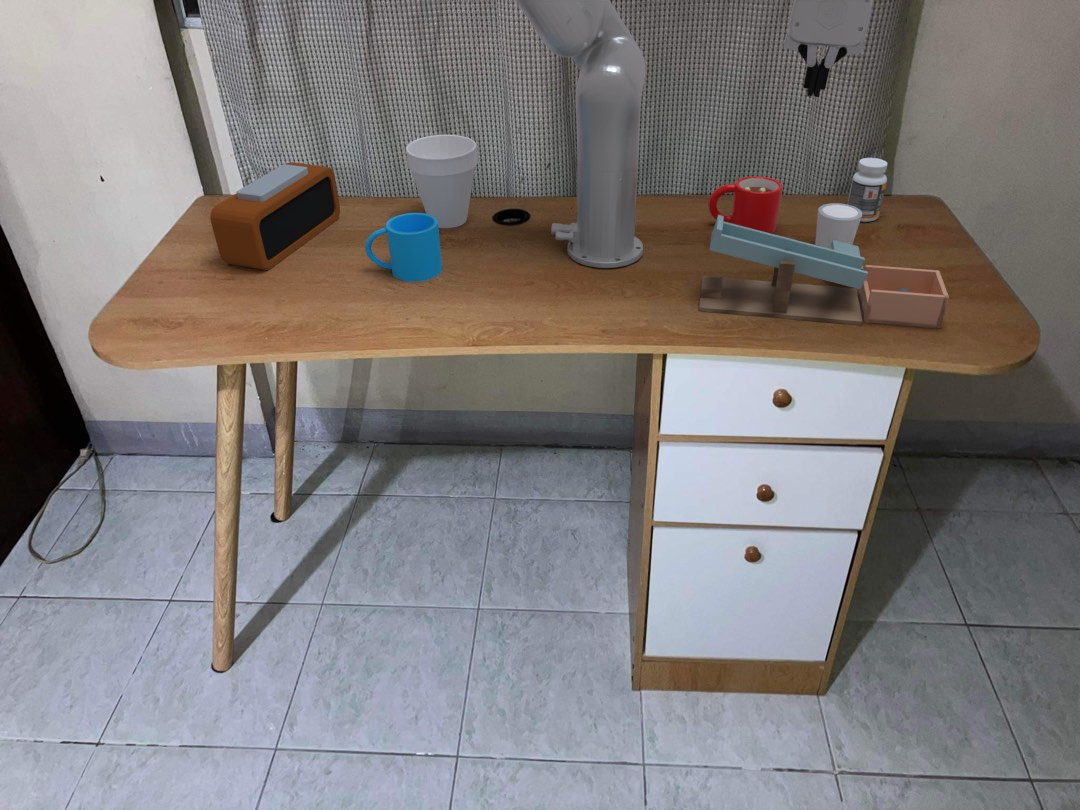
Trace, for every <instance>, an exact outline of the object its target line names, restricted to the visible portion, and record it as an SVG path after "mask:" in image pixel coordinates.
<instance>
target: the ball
mask: <svg viewBox="0 0 1080 810" xmlns="http://www.w3.org/2000/svg"><path fill="white" fill-rule="evenodd" d="M896 291H897V292H910V293H912V292H911V291H910V290H908V289H905V288H901V289H898V290H896Z"/></svg>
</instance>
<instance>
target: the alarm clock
mask: <svg viewBox="0 0 1080 810" xmlns="http://www.w3.org/2000/svg"><path fill="white" fill-rule="evenodd" d="M340 206H341V205H340V199H339V195H338V189H337V182H336V177H335V173H334V170H333V169H332V168H331V167H330V166H324V165H319V164H318V165H317V164H308V163H301V162H293V161H290V162H287V163H285V164H281V165H280V166H277V167H275V168H274V169H272V170H271V171H269V172H267V173H266V174H264V175H262V176H260V177H259V178H257V179H255V180H254V181H252V182H251V183H249V184H247V185H245V186H244V187H241V188H240V189H239V190H237V191H236V192H235V193H234V194H233V195H231V196H230V197H228V198H226V199H224V200H223V201H221V202H219V203H218V204H216V205H215V206H213V208H211V209H212V210H211V212H210V223H211V227H212V231H213V235H214V239H215V243H216V247H217V249H218V252H219V257H220V258H221V261H223V262H224V263H225V264H229V265H233V266H239V267H246V268H252V269H255V270H256V269H257V270H263V271H270V270H272V269H273V268H275V267H276V266H277V265H279V264H280V263H281V262H283V261H284V260H285V259H286V258H288V257H290V256H291V255H292V254H293V253H295V252H296V251H297V250H299V249H300V248H301V247H303V246H305V245H306V244H307V243H308V242H310V241H311V240H312V239H313V238H315V237H316V236H318V235H319V234H320V233H322V232H323V231H324V230H326V229H327V228H328V227H330V226H331V225H333V224H334V223H335V222H337V221H338V219H339V217H340V213H341V207H340Z"/></svg>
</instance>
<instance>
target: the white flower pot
mask: <svg viewBox="0 0 1080 810" xmlns="http://www.w3.org/2000/svg"><path fill="white" fill-rule="evenodd" d="M477 146H478V145H477V143H476V142H475V140H473V139H472V138H470V137H467V136H465V135H464V136H463V135H457V134H435V135H428V136H423V137H419V138H418V139H415V140H412V141H410V142H409V143H408V144H407V145H406V148H405V152H406V165H407V166H406V167H407V168H408V169H409V170H410V172H411V175H412V177H413V181H414V183H415V185H416V188H417V191H418V194H419V198H420V201H421V202H422V205H423V209H424V211H425V214H429V215H432V216H434V217H435V218H436V219H437V221H438V229H453V228H457V227H460V226H463V225H464V224H465V223H466V222H467V220H468V213H469V206H470V201H471V196H472V188H473V183H474V176H475V170H476V166H477V165H478V164H479V163H478V162H479V159H478V151H477Z"/></svg>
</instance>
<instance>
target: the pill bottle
mask: <svg viewBox="0 0 1080 810" xmlns="http://www.w3.org/2000/svg"><path fill="white" fill-rule="evenodd" d="M887 168H888V162H887V161H886V160H883V159H882V158H877V157H865V158H864V157H863V158H861V159H860V160H859V161H858V163H857V169H858V171H857V172H855V173H854V175H853V176H852V179H851V185H850V188H849V189H850V190H849V193H848V199H847V205H851V206H854V207H856V208H858V209H860V210H861V212H862V217H861V220H860V222H862V223H868V222H874V221H876V220H877V219H879V217H880V214H881V209H882V204H883V199H884V195H885V191H886V188H887V183H888V178H887V175H886V174H885V173H886V172H887Z"/></svg>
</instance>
